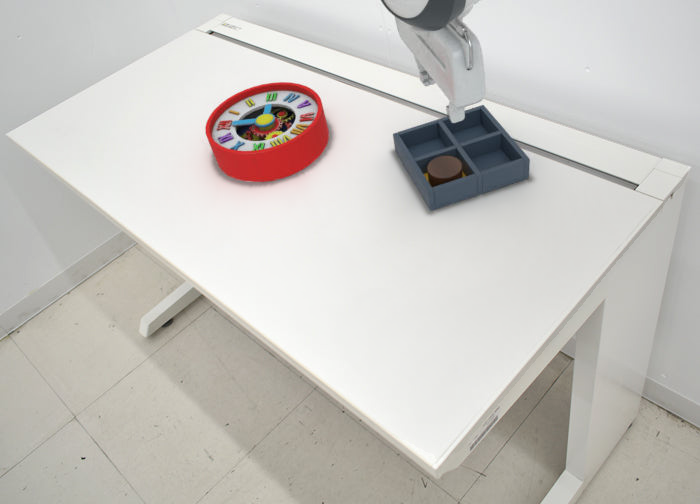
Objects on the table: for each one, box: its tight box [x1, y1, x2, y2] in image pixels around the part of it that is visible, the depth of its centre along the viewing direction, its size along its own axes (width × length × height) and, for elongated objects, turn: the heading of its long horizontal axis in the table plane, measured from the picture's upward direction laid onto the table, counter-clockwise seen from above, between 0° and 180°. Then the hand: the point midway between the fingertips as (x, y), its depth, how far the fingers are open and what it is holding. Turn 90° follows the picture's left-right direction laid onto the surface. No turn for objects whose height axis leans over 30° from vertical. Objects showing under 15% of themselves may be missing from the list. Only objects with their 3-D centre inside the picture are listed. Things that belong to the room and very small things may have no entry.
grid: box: [392, 104, 531, 212], centre depth 92 cm, size 15×15×4 cm
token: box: [427, 156, 463, 187], centre depth 89 cm, size 5×5×3 cm
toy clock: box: [204, 81, 330, 183], centre depth 103 cm, size 20×6×20 cm
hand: (441, 100), depth 78 cm, fingers open, 8 cm apart
